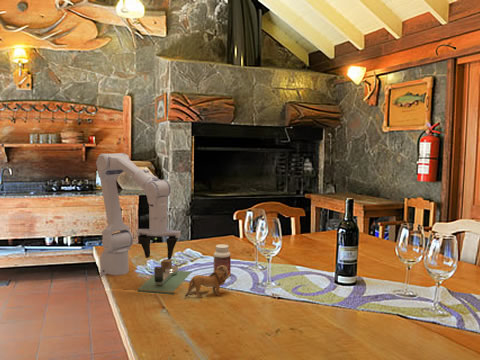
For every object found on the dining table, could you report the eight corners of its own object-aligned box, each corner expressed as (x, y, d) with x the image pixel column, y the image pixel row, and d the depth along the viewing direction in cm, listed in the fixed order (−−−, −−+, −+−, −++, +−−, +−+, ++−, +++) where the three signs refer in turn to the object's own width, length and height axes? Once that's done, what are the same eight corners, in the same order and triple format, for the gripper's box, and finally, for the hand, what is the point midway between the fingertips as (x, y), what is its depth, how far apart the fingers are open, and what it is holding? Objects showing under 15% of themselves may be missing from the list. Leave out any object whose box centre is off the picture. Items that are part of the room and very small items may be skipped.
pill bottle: (233, 276, 159) (234, 246, 158) (219, 279, 156) (219, 249, 154) (224, 271, 164) (225, 243, 163) (210, 274, 161) (210, 245, 160)
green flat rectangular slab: (137, 292, 142) (137, 288, 142) (161, 272, 163) (161, 269, 163) (173, 294, 140) (173, 291, 140) (192, 274, 161) (192, 271, 161)
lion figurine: (224, 289, 146) (224, 262, 145) (231, 294, 141) (231, 267, 140) (182, 295, 140) (182, 268, 139) (187, 301, 135) (187, 273, 134)
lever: (151, 285, 145) (151, 268, 144) (169, 269, 162) (169, 254, 162) (163, 286, 144) (162, 269, 143) (180, 270, 162) (180, 254, 161)
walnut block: (161, 272, 160) (161, 261, 159) (164, 269, 163) (163, 259, 162) (169, 272, 159) (168, 262, 159) (171, 270, 162) (171, 259, 162)
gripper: (132, 218, 141) (132, 259, 142) (175, 220, 138) (175, 262, 140) (141, 214, 148) (141, 254, 149) (182, 216, 145) (182, 256, 146)
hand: (158, 257), depth 145 cm, fingers open, 7 cm apart
